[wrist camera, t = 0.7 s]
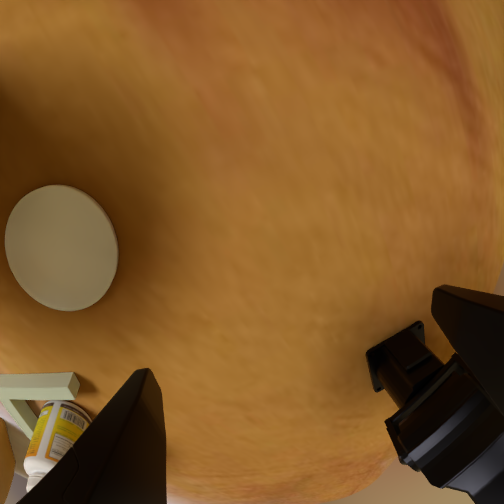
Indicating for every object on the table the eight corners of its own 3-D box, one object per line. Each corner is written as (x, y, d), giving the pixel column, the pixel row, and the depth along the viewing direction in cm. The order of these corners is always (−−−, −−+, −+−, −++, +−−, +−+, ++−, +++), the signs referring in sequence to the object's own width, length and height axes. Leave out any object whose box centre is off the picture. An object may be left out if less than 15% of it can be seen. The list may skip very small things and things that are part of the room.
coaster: (142, 276, 21) (140, 281, 20) (50, 321, 21) (47, 327, 20) (80, 159, 18) (76, 160, 17) (-8, 222, 18) (-13, 225, 17)
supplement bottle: (51, 427, 25) (31, 503, 15) (37, 392, 23) (6, 474, 14) (99, 436, 26) (86, 518, 17) (89, 401, 24) (68, 492, 15)
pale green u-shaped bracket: (73, 372, 23) (67, 387, 21) (120, 448, 27) (118, 463, 25) (-2, 374, 22) (-9, 387, 20) (50, 447, 26) (46, 459, 24)
